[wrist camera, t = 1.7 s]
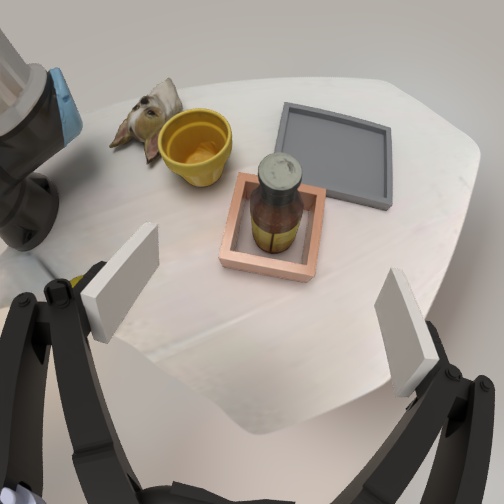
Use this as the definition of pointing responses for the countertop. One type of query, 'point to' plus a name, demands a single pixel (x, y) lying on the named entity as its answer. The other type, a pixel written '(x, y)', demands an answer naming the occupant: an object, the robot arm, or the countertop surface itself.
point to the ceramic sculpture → (150, 118)
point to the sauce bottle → (276, 202)
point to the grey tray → (339, 154)
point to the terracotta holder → (268, 266)
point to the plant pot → (196, 145)
